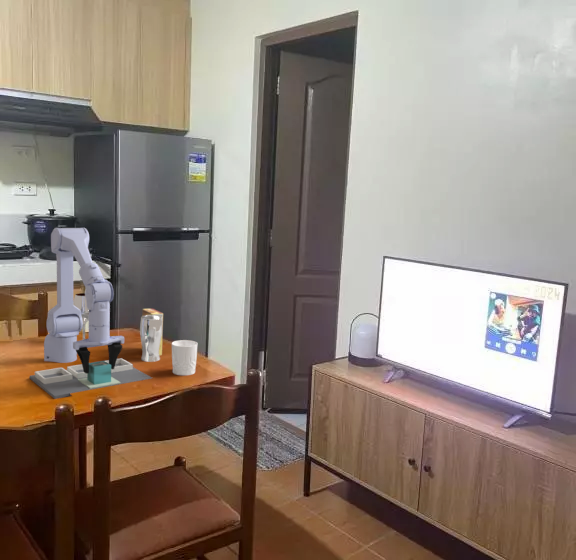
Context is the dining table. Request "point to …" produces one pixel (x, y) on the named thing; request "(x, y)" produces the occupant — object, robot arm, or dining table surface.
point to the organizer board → (83, 378)
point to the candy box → (155, 312)
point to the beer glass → (150, 337)
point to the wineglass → (82, 309)
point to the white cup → (184, 357)
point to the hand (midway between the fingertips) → (99, 370)
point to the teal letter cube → (99, 372)
